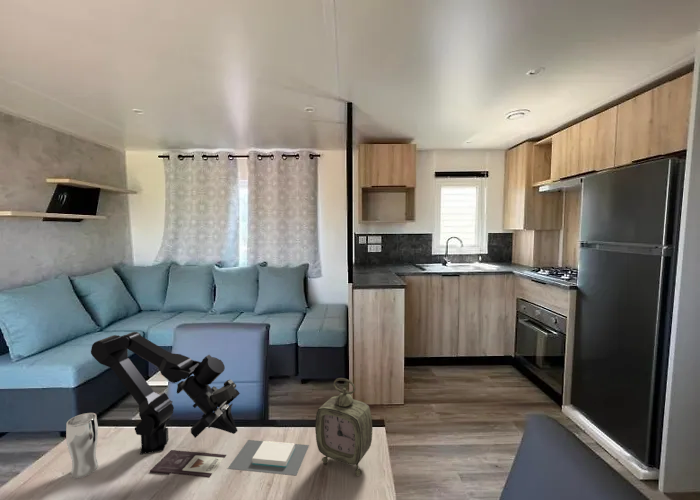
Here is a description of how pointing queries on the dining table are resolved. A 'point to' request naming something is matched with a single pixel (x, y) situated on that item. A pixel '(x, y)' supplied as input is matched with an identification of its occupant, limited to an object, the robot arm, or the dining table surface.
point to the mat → (245, 463)
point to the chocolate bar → (188, 463)
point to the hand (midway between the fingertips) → (235, 432)
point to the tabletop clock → (344, 428)
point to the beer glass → (82, 444)
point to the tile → (273, 454)
